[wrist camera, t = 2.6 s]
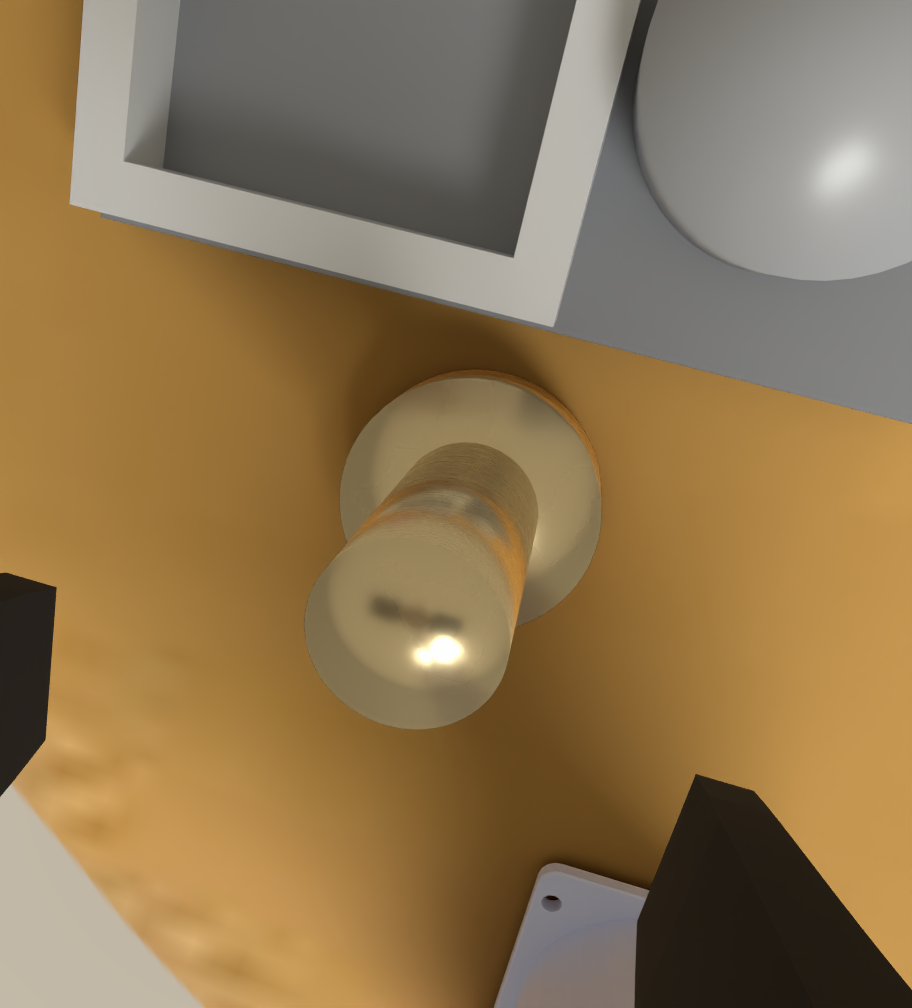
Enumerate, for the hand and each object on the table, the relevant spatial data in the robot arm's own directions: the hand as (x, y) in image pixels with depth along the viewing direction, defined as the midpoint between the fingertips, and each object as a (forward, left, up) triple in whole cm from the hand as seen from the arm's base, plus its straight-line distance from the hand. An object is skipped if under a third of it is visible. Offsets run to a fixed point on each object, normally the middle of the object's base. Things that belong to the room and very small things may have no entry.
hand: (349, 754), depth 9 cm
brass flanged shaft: (0, 0, -10) cm, 10 cm away
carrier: (+9, 0, -10) cm, 14 cm away
